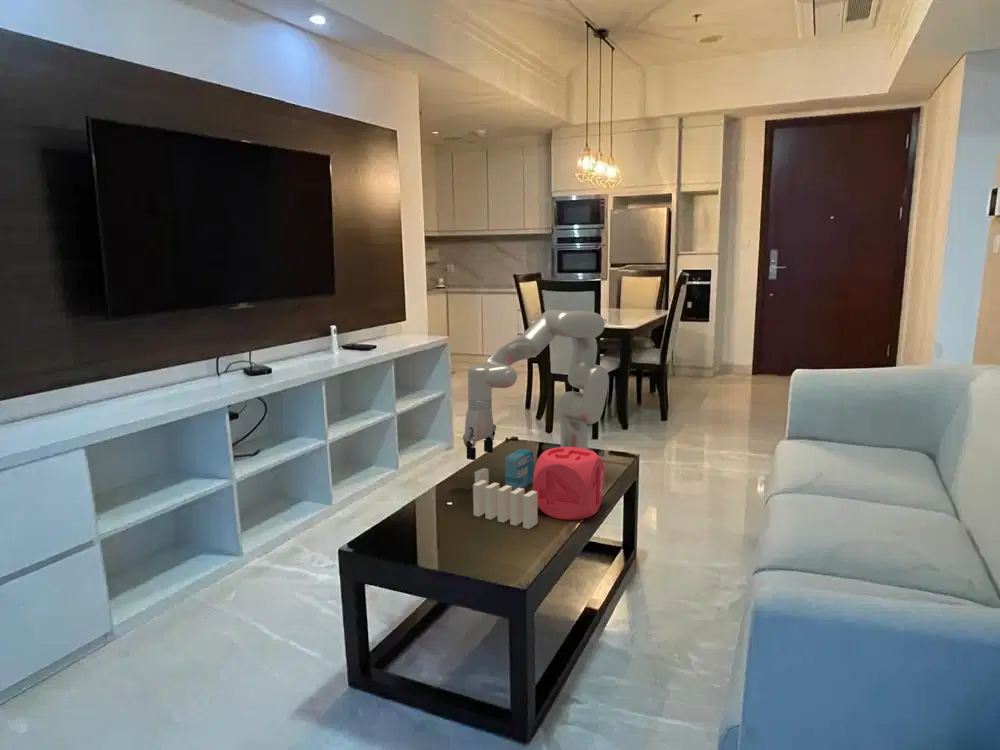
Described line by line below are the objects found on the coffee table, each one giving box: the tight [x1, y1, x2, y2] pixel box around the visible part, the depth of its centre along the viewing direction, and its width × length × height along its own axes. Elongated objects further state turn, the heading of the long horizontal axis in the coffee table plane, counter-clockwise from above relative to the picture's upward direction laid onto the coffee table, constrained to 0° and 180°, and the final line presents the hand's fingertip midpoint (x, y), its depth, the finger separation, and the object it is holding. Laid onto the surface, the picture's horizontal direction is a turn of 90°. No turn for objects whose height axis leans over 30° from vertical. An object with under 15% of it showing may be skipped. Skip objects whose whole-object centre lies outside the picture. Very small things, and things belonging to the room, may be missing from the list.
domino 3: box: [484, 482, 501, 521], centre depth 204 cm, size 2×5×10 cm, turn 147°
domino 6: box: [522, 490, 539, 530], centre depth 197 cm, size 2×5×10 cm, turn 147°
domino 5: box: [509, 488, 526, 527], centre depth 200 cm, size 2×5×10 cm, turn 147°
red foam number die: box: [532, 446, 606, 521], centre depth 209 cm, size 18×18×18 cm
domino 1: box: [474, 467, 490, 485], centre depth 219 cm, size 2×5×10 cm, turn 147°
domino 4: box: [497, 485, 513, 523], centre depth 202 cm, size 2×5×10 cm, turn 147°
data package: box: [504, 448, 534, 491], centre depth 231 cm, size 12×4×12 cm, turn 148°
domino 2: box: [472, 480, 488, 517], centre depth 207 cm, size 2×5×10 cm, turn 147°
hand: (479, 455), depth 217 cm, fingers open, 9 cm apart
